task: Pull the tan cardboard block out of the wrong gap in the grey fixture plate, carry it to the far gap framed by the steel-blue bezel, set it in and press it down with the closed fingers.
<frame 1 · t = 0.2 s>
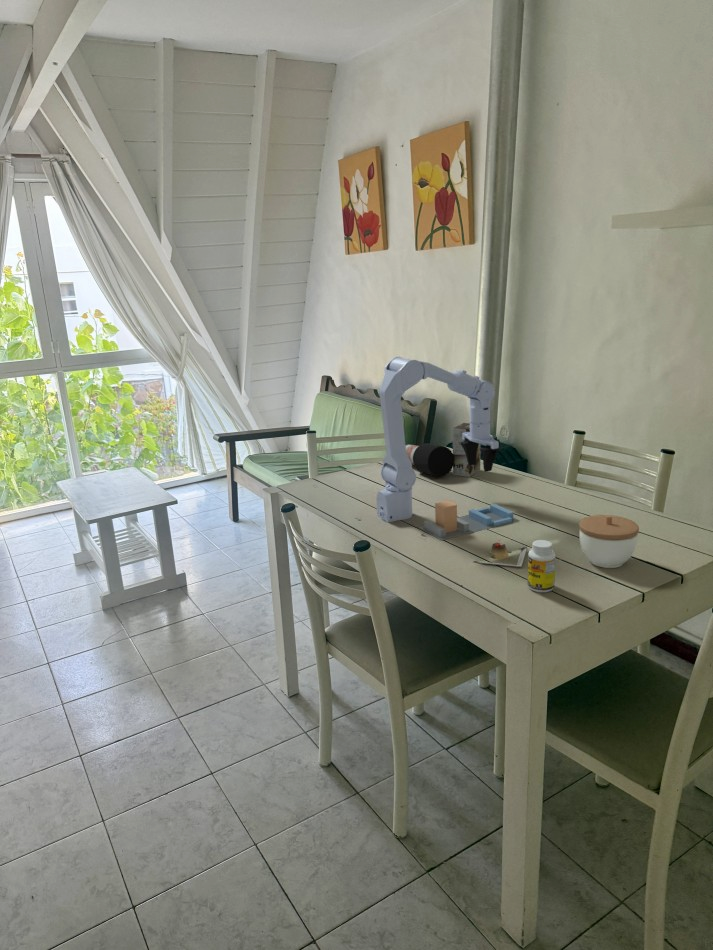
hand: (479, 467, 194), 10 cm above the table, fingers open, 7 cm apart
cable: (416, 467, 233), on the table
dessert: (498, 558, 159), on the table
tan cardboard block: (446, 529, 174), point 1 cm above the table, touching grey fixture plate
lidded bowl: (606, 562, 153), on the table
supplement bottle: (540, 588, 142), on the table
grey fixture plate: (468, 526, 178), on the table
coffee box: (466, 473, 224), on the table
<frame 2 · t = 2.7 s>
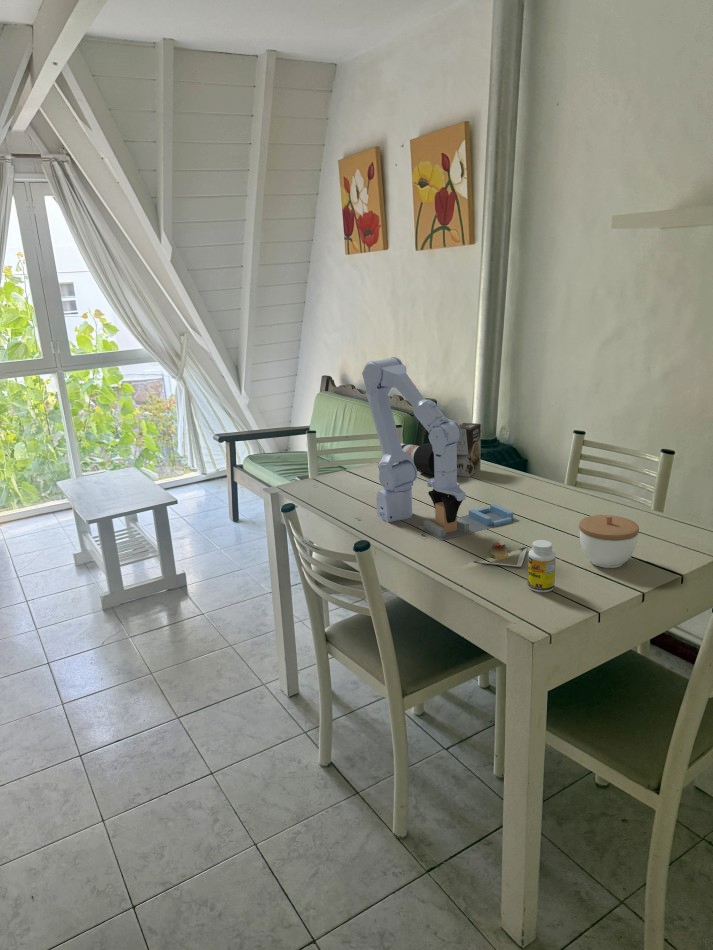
hand: (446, 519, 174), 4 cm above the table, fingers closed on tan cardboard block, 4 cm apart
tan cardboard block: (446, 529, 174), point 1 cm above the table, touching grey fixture plate, gripper
everything else where it was.
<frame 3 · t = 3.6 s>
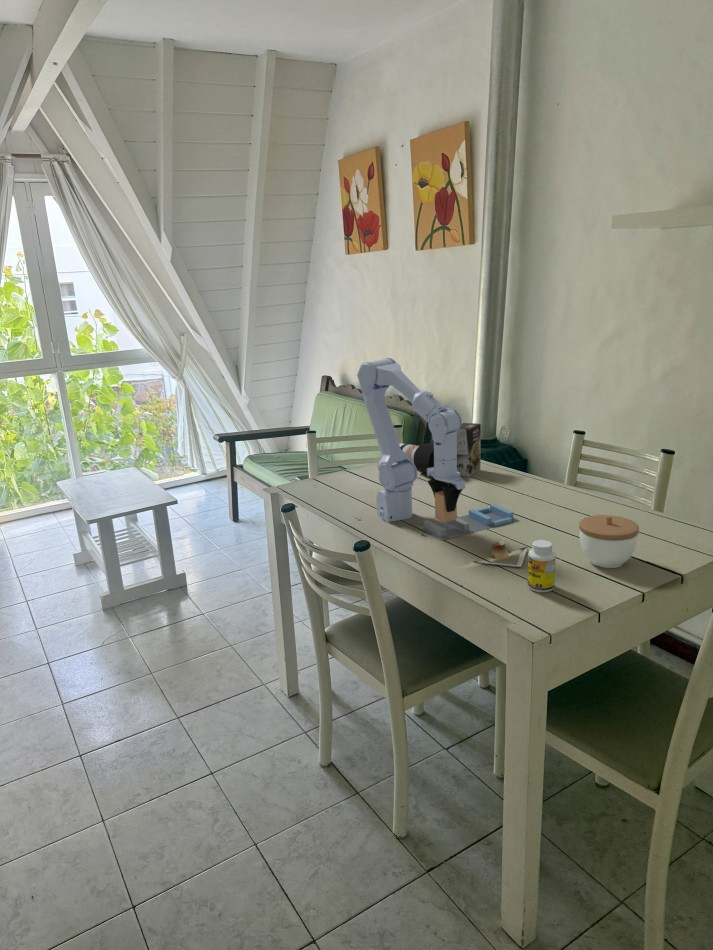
hand: (445, 508, 173), 7 cm above the table, fingers closed on tan cardboard block, 4 cm apart
tan cardboard block: (445, 518, 174), point 4 cm above the table, touching gripper
everything else where it was.
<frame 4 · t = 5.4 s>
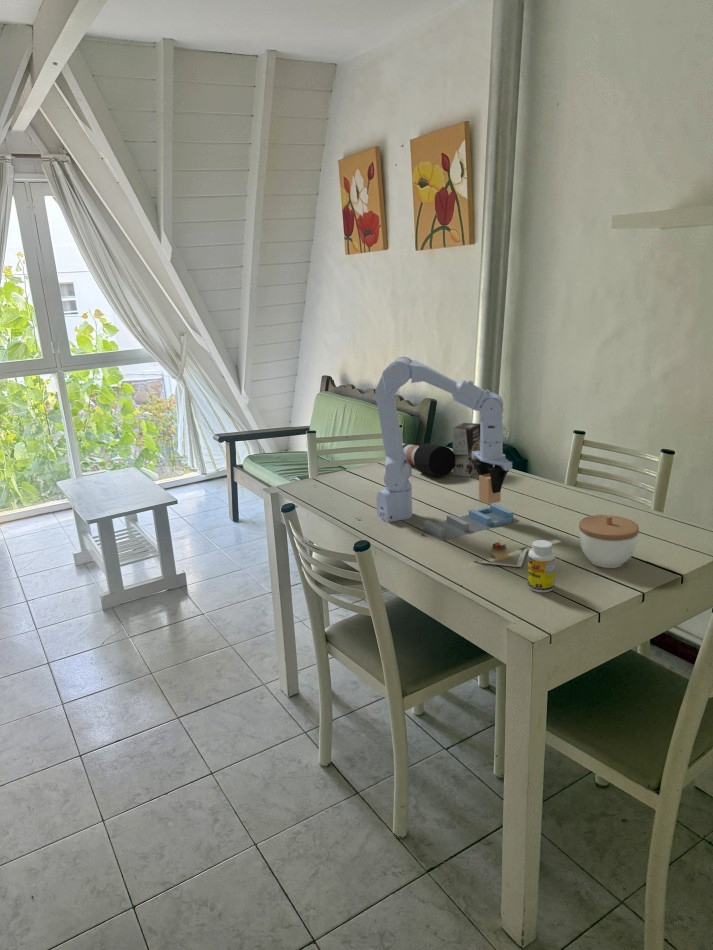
hand: (491, 489, 178), 9 cm above the table, fingers closed on tan cardboard block, 4 cm apart
tan cardboard block: (489, 500, 179), point 6 cm above the table, touching gripper
everything else where it was.
when the fingers open (4 cm above the table, at t = 6.5 s): tan cardboard block stays where it is, resting on grey fixture plate.
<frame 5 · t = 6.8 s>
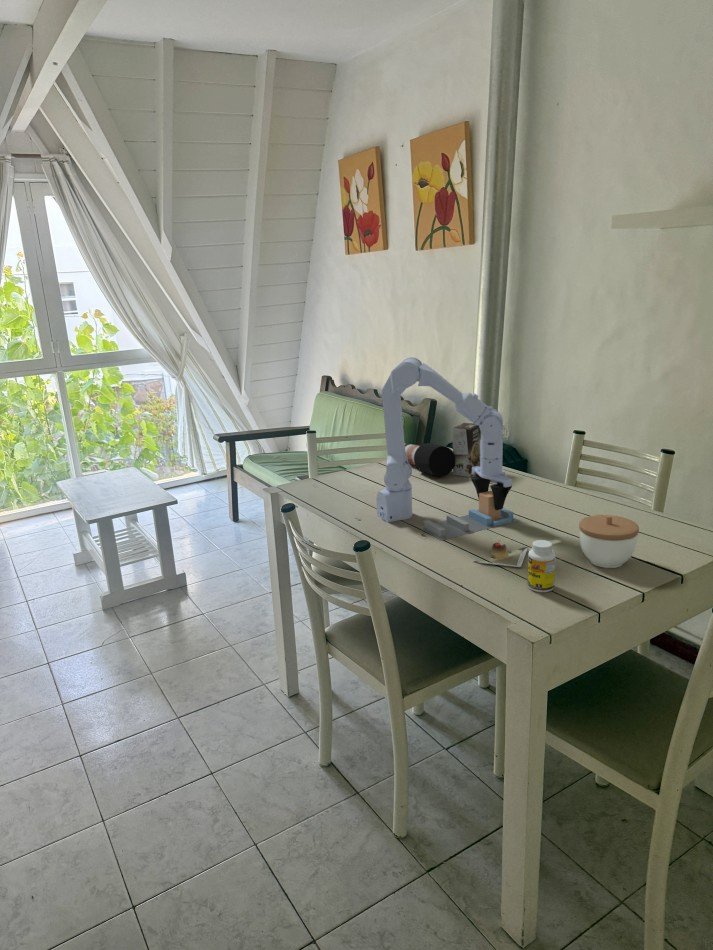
hand: (490, 505, 179), 4 cm above the table, fingers open, 6 cm apart
tan cardboard block: (489, 518, 180), point 1 cm above the table, touching grey fixture plate
everything else where it was.
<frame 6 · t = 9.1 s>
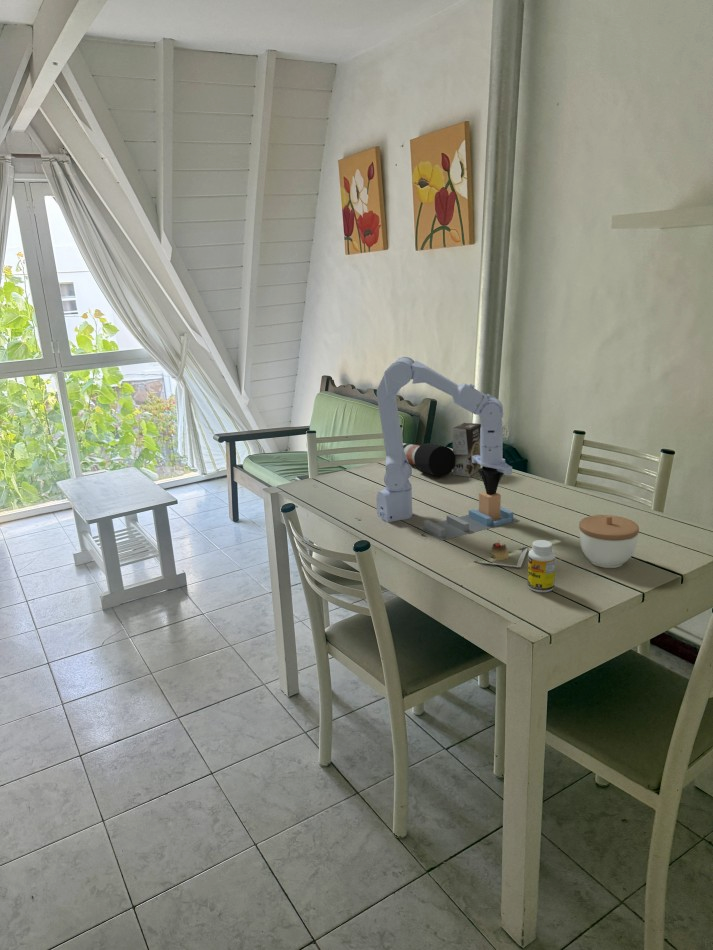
hand: (491, 494, 178), 8 cm above the table, fingers closed, pressing on tan cardboard block
tan cardboard block: (489, 518, 180), point 1 cm above the table, touching grey fixture plate, gripper
everything else where it was.
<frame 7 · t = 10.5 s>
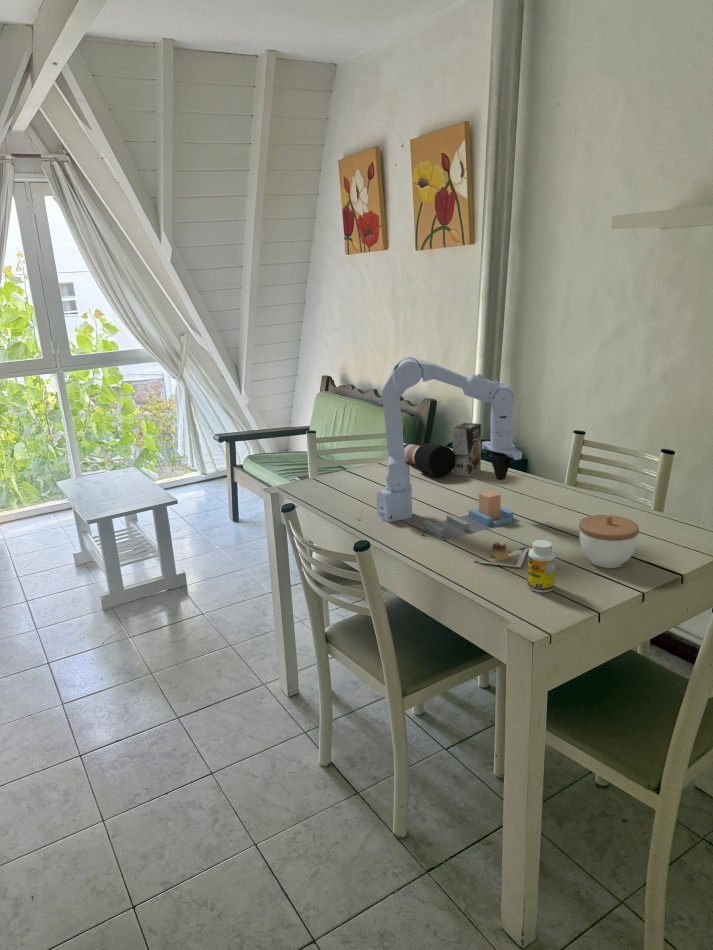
hand: (500, 479, 181), 10 cm above the table, fingers closed
tan cardboard block: (489, 518, 180), point 1 cm above the table, touching grey fixture plate
everything else where it was.
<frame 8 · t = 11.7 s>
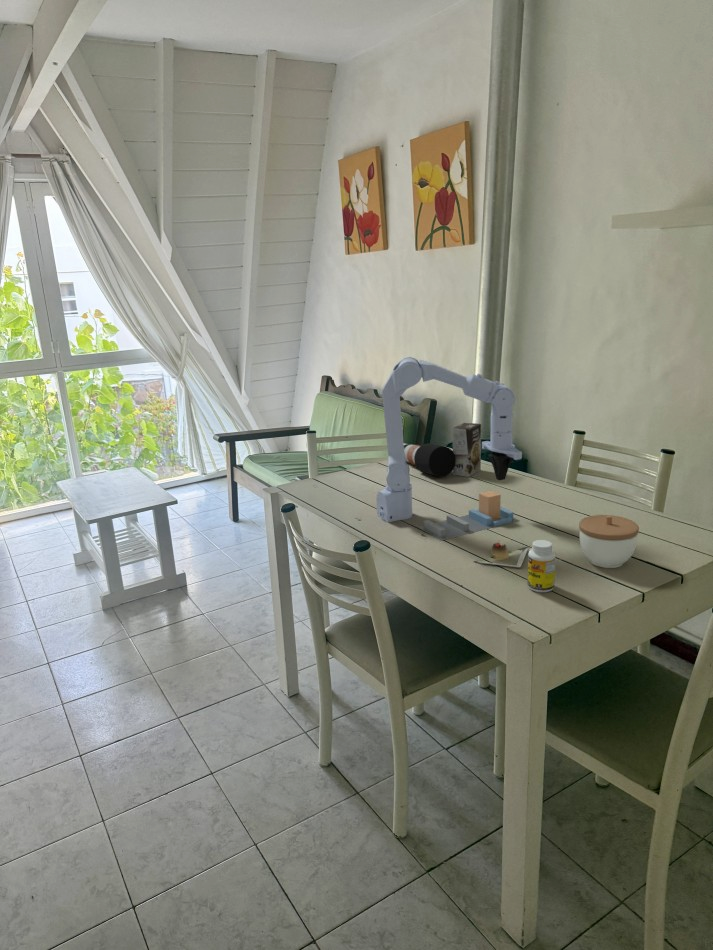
hand: (500, 479, 181), 10 cm above the table, fingers closed
nothing on the table moved.
at the end: tan cardboard block 0.4 cm from the target spot on the grey fixture plate, point 0.8 cm above the grey fixture plate's base; tan cardboard block tilted 0°; the gripper is holding nothing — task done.
